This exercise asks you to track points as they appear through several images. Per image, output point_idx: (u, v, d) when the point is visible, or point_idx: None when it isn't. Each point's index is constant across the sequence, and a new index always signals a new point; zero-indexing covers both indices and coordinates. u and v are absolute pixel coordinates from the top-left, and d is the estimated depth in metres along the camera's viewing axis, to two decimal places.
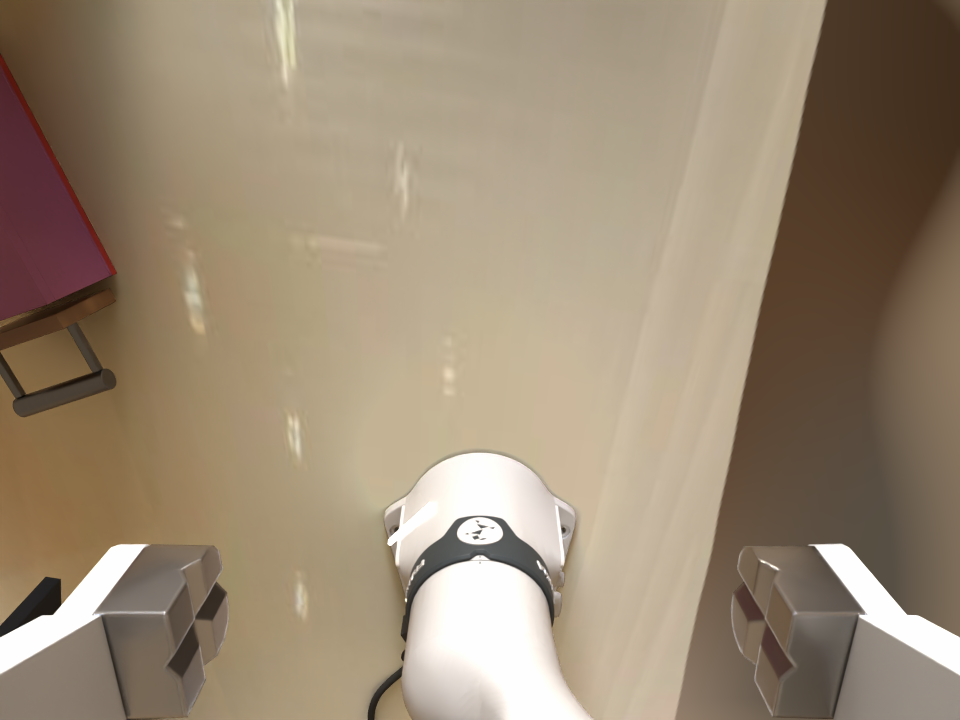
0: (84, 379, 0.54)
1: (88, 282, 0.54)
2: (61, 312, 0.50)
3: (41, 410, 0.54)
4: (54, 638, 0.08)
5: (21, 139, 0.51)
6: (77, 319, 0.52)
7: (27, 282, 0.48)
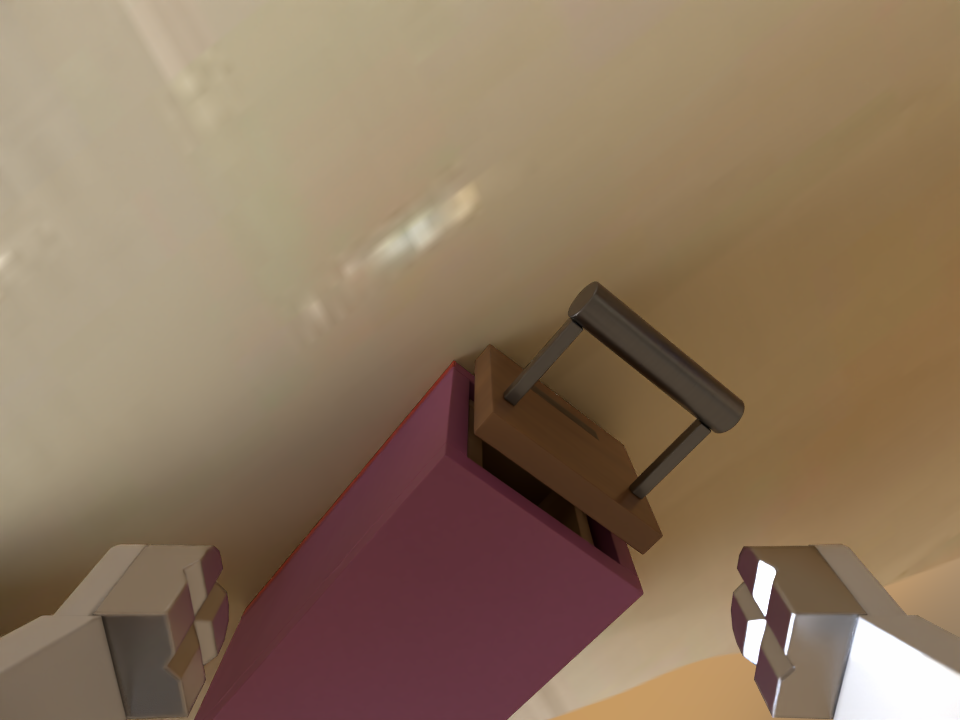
0: (602, 338, 0.26)
1: (448, 396, 0.30)
2: (475, 423, 0.26)
3: (712, 384, 0.27)
4: (54, 638, 0.08)
5: (312, 547, 0.34)
6: (490, 393, 0.27)
7: (423, 496, 0.25)
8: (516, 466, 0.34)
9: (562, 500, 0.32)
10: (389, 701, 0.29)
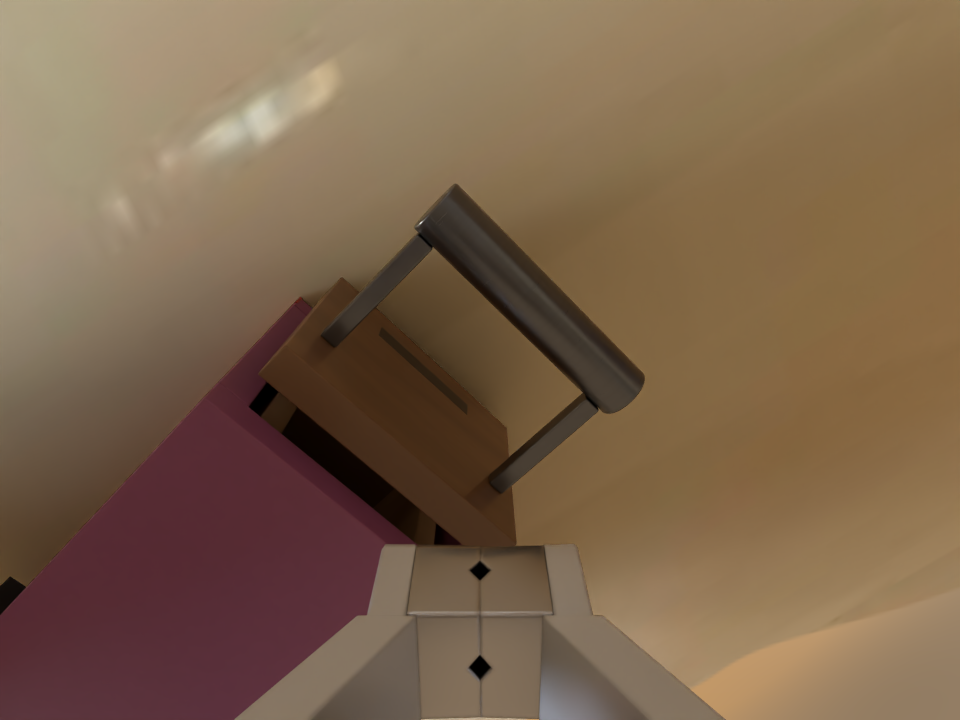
0: (456, 263, 0.19)
1: (265, 333, 0.22)
2: (267, 363, 0.19)
3: (602, 344, 0.20)
4: (385, 638, 0.08)
5: None
6: (300, 325, 0.20)
7: (174, 454, 0.18)
8: None
9: None
10: None
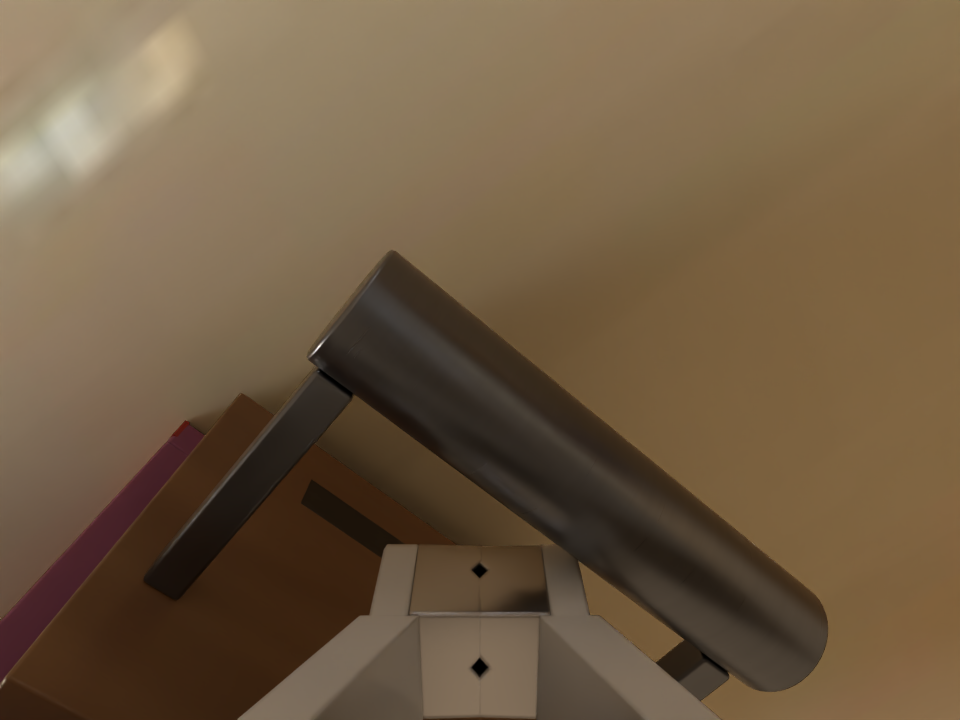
0: (408, 429, 0.08)
1: (84, 530, 0.12)
2: None
3: (741, 566, 0.09)
4: (387, 638, 0.08)
5: None
6: (96, 567, 0.09)
7: None
8: None
9: None
10: None
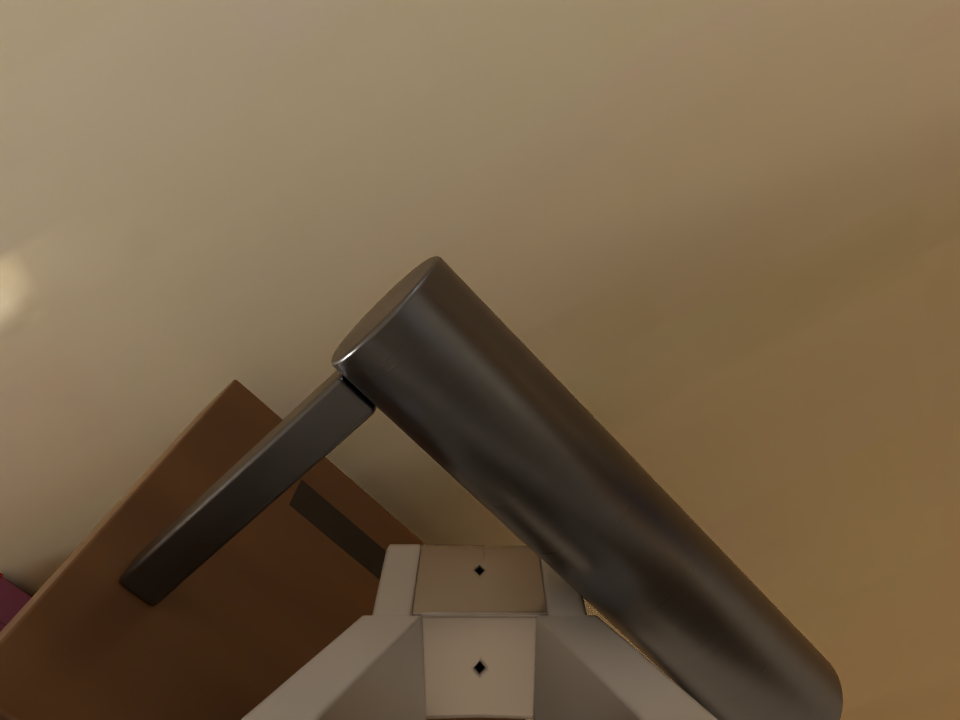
0: (432, 452, 0.08)
1: None
2: None
3: (764, 630, 0.09)
4: (391, 638, 0.08)
5: None
6: (68, 563, 0.08)
7: None
8: None
9: None
10: None
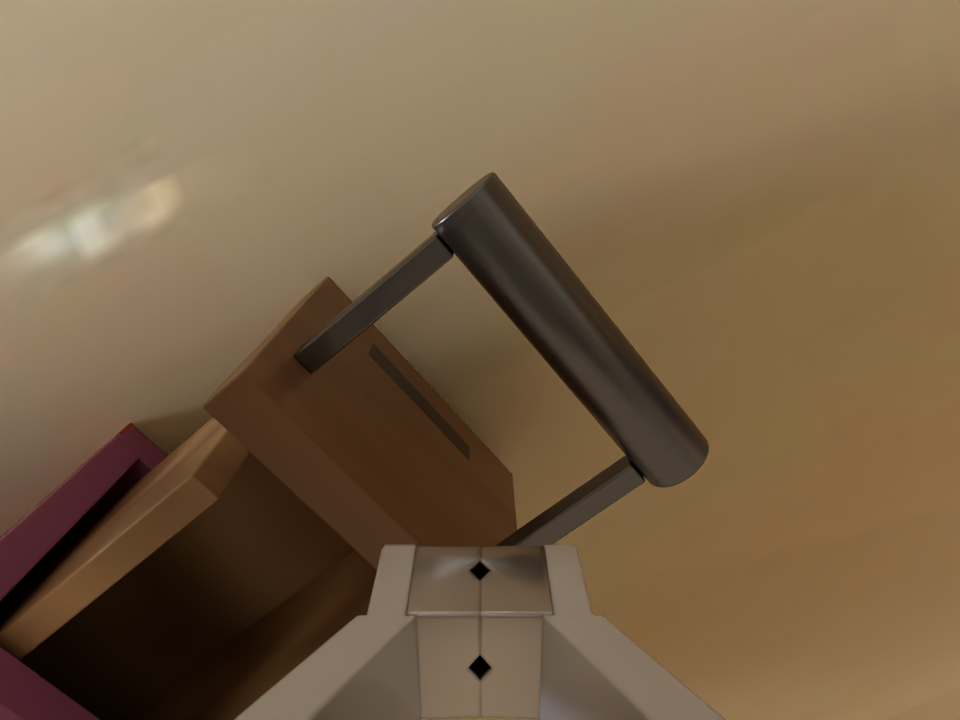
0: (484, 278, 0.14)
1: (54, 491, 0.19)
2: (218, 390, 0.14)
3: (662, 400, 0.15)
4: (385, 638, 0.08)
5: None
6: (268, 341, 0.15)
7: None
8: None
9: None
10: None
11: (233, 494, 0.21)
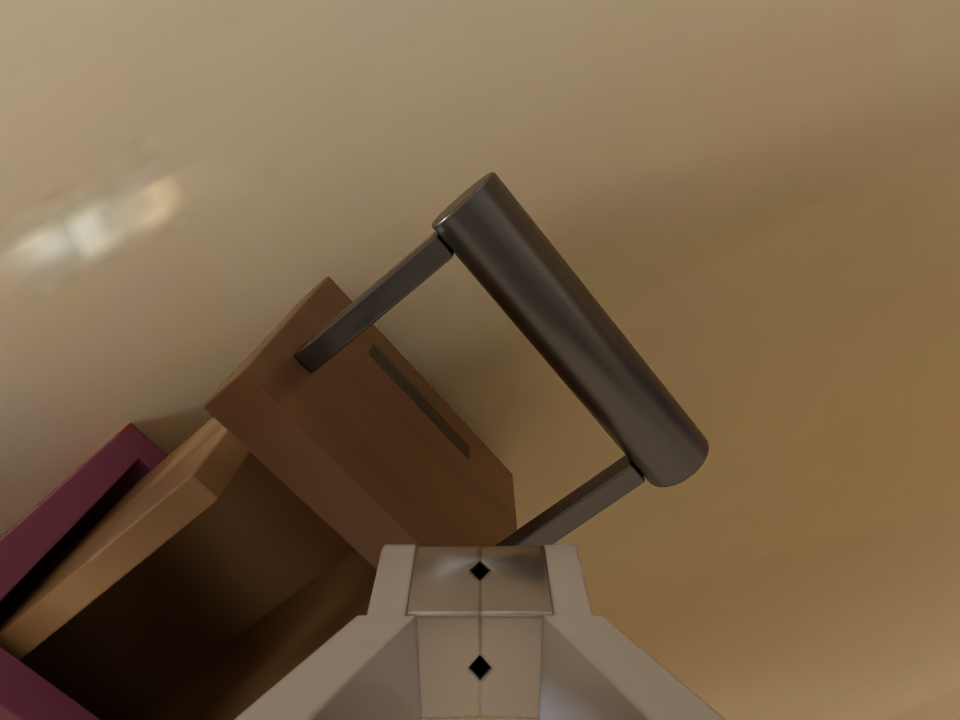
0: (484, 278, 0.14)
1: (54, 491, 0.19)
2: (218, 389, 0.14)
3: (662, 400, 0.15)
4: (385, 638, 0.08)
5: None
6: (268, 341, 0.15)
7: None
8: None
9: None
10: None
11: (233, 494, 0.21)
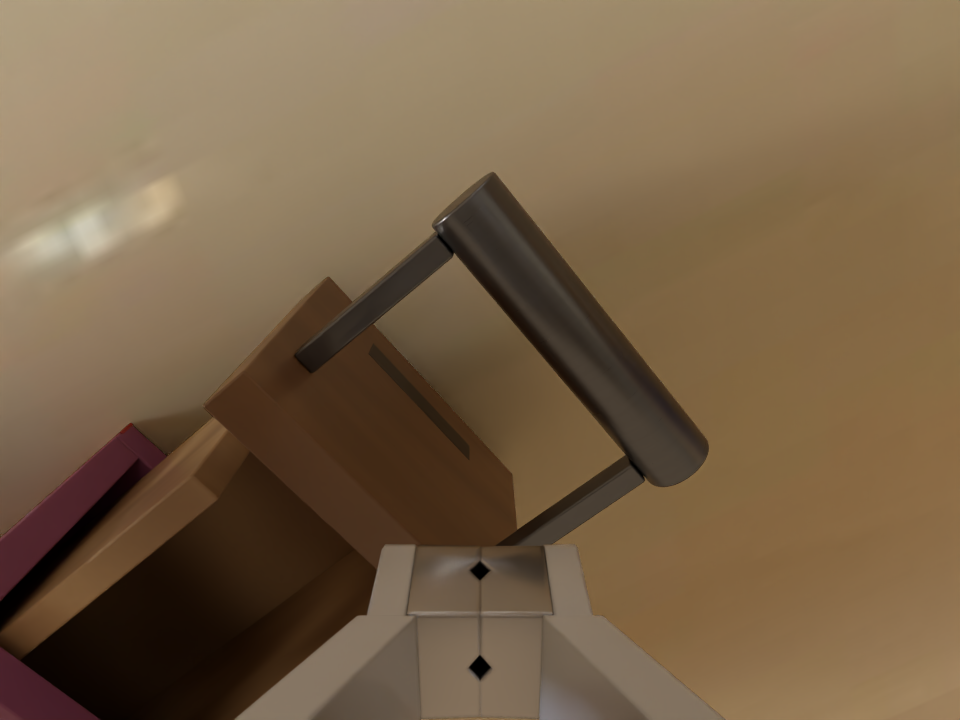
0: (484, 278, 0.14)
1: (54, 491, 0.19)
2: (218, 389, 0.14)
3: (662, 400, 0.15)
4: (385, 638, 0.08)
5: None
6: (268, 341, 0.15)
7: None
8: None
9: None
10: None
11: (233, 494, 0.21)
